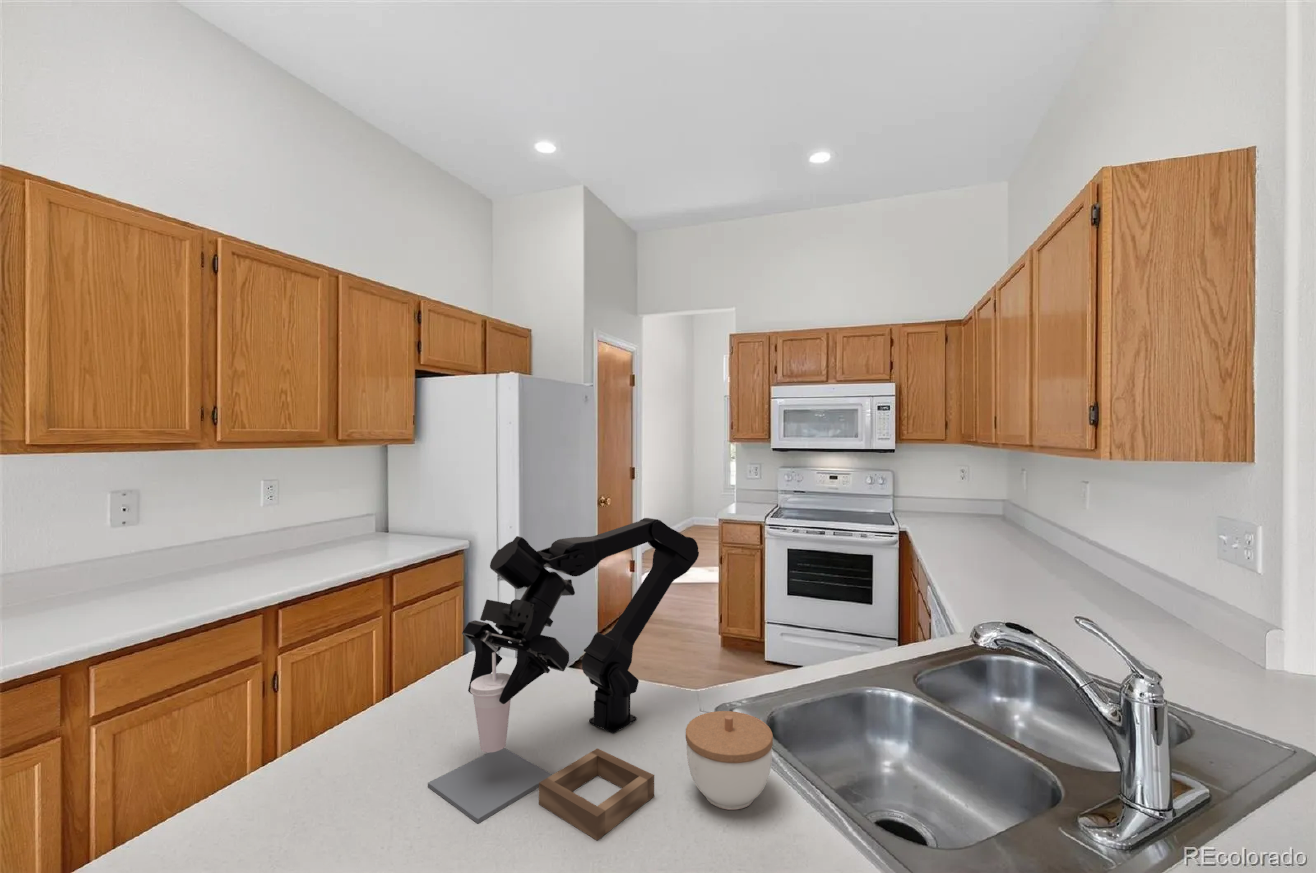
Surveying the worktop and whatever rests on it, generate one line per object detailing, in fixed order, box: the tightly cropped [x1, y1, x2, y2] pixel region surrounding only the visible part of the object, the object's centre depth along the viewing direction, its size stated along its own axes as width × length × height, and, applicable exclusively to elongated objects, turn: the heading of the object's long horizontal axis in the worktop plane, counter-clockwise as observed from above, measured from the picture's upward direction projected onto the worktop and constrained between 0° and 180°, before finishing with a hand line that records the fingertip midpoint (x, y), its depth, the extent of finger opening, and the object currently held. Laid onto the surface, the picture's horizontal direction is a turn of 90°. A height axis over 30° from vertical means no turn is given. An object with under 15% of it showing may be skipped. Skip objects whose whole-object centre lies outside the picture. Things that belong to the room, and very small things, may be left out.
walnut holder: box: [538, 748, 655, 841], centre depth 78 cm, size 12×12×3 cm
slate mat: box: [427, 747, 554, 824], centre depth 83 cm, size 13×13×1 cm
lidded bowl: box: [685, 710, 774, 811], centre depth 80 cm, size 13×13×11 cm
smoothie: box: [470, 652, 512, 753], centre depth 83 cm, size 6×6×14 cm
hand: (485, 697), depth 82 cm, fingers closed on smoothie, 6 cm apart
